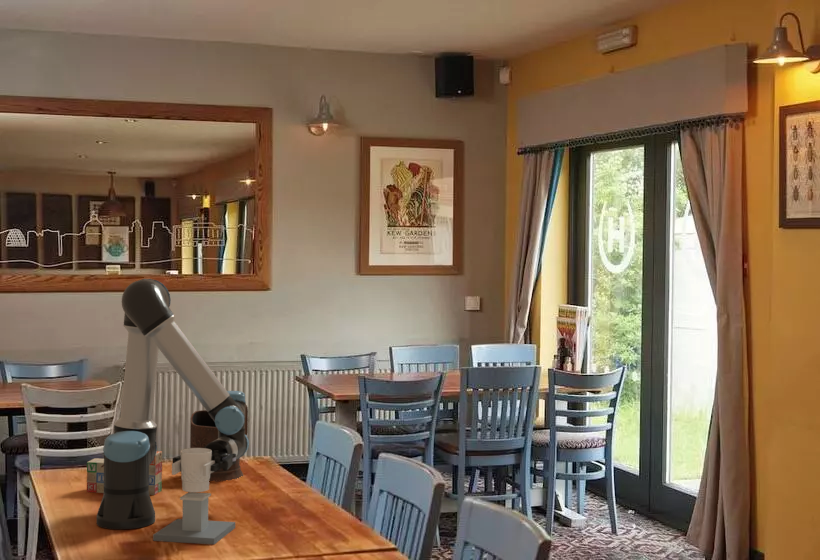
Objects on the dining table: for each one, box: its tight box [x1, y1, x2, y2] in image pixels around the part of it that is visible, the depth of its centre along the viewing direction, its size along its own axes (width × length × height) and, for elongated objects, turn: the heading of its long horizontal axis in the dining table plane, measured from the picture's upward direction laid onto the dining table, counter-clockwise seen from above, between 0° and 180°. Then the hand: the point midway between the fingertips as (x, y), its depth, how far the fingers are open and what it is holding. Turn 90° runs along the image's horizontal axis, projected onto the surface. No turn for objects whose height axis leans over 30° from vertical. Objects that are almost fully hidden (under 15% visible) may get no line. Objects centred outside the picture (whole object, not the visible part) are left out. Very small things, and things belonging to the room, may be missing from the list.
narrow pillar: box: [152, 492, 236, 545], centre depth 264 cm, size 16×16×10 cm
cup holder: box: [189, 404, 249, 482], centre depth 333 cm, size 18×24×25 cm
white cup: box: [179, 447, 212, 493], centre depth 264 cm, size 8×8×10 cm
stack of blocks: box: [86, 450, 163, 496], centre depth 310 cm, size 21×6×12 cm, turn 84°
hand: (188, 470), depth 259 cm, fingers closed on white cup, 7 cm apart
